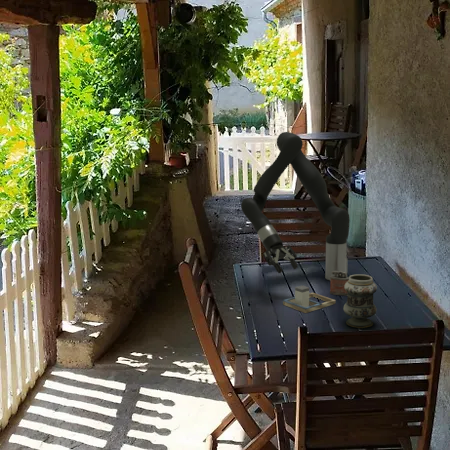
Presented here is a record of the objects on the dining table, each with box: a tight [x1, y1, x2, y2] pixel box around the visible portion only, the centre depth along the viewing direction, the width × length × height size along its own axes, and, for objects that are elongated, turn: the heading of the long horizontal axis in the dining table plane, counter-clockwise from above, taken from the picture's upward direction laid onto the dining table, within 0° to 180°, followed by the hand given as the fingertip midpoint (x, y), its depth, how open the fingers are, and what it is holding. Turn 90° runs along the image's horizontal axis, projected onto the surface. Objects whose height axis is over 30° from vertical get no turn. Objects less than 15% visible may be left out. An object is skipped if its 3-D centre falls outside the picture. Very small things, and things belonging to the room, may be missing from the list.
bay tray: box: [282, 292, 336, 314], centre depth 256 cm, size 17×13×2 cm
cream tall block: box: [294, 285, 310, 307], centre depth 253 cm, size 4×4×8 cm
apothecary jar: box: [342, 273, 378, 329], centre depth 233 cm, size 12×12×18 cm
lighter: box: [329, 271, 350, 296], centre depth 268 cm, size 8×3×10 cm, turn 71°
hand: (288, 270), depth 258 cm, fingers open, 8 cm apart
